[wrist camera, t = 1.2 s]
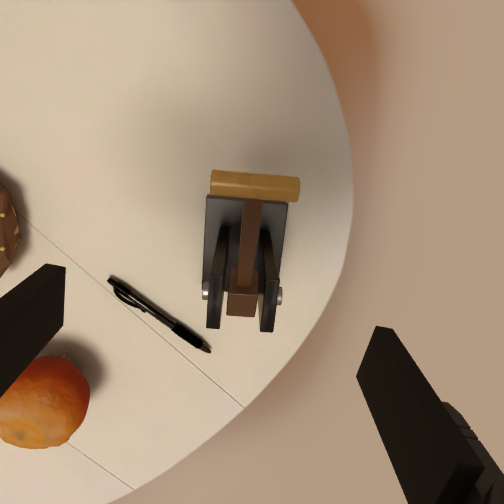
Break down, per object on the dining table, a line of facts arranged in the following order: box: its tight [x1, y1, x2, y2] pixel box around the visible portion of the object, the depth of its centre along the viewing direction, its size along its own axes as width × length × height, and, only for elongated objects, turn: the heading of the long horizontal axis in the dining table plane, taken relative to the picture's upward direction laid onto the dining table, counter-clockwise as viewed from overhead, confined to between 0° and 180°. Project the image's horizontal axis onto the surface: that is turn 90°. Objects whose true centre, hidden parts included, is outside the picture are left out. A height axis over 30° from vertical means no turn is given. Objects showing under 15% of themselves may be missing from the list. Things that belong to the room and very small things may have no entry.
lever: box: [210, 170, 300, 317], centre depth 25 cm, size 12×5×2 cm, turn 175°
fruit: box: [0, 347, 90, 449], centre depth 39 cm, size 10×9×10 cm
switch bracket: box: [202, 195, 288, 333], centre depth 32 cm, size 10×8×13 cm
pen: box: [107, 278, 211, 353], centre depth 41 cm, size 14×2×1 cm, turn 48°
